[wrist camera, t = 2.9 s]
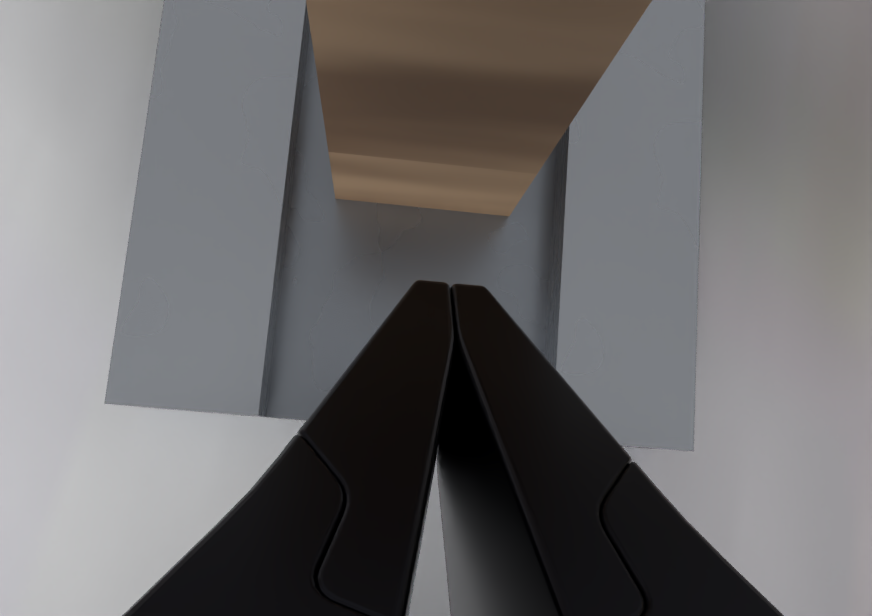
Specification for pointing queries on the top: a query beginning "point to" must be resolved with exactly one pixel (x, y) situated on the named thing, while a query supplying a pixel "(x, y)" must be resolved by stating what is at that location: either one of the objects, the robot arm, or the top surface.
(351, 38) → the brown block
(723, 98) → the top surface
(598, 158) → the slot bed
